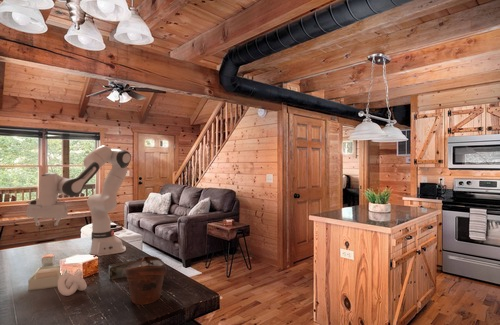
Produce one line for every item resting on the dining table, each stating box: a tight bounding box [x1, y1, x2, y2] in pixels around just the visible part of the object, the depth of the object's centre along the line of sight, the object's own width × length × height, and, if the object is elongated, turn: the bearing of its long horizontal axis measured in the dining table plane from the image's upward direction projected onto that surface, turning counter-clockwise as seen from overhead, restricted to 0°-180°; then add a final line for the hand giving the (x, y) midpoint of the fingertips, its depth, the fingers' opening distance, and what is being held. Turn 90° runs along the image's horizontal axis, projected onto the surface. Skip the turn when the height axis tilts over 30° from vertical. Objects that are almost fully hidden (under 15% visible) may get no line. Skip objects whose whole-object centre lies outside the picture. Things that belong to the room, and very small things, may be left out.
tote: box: [27, 264, 67, 291], centre depth 152 cm, size 14×18×5 cm
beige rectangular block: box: [36, 268, 60, 279], centre depth 148 cm, size 9×6×7 cm, turn 112°
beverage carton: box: [108, 259, 137, 280], centre depth 163 cm, size 8×19×7 cm, turn 119°
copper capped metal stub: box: [41, 253, 56, 267], centre depth 164 cm, size 5×5×9 cm
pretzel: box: [57, 269, 88, 297], centre depth 141 cm, size 11×12×9 cm
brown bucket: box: [124, 255, 168, 306], centre depth 136 cm, size 18×20×18 cm
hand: (47, 225), depth 168 cm, fingers open, 8 cm apart
